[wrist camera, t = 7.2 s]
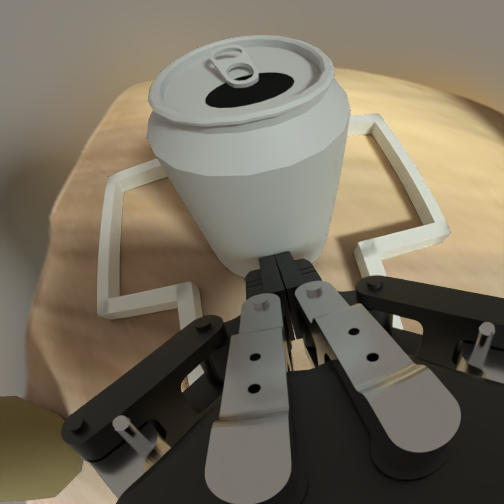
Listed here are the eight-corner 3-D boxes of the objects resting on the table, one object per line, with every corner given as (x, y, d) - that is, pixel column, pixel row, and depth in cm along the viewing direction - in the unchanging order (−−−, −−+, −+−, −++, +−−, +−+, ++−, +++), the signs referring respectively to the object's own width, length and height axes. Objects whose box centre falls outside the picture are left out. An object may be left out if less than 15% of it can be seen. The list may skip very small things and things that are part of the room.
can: (234, 305, 16) (132, 178, 6) (201, 209, 20) (127, 66, 9) (346, 258, 17) (405, 92, 6) (296, 172, 20) (288, 17, 9)
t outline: (483, 388, 11) (496, 387, 10) (133, 470, 12) (121, 476, 11) (376, 125, 21) (378, 113, 20) (115, 186, 22) (107, 176, 21)
